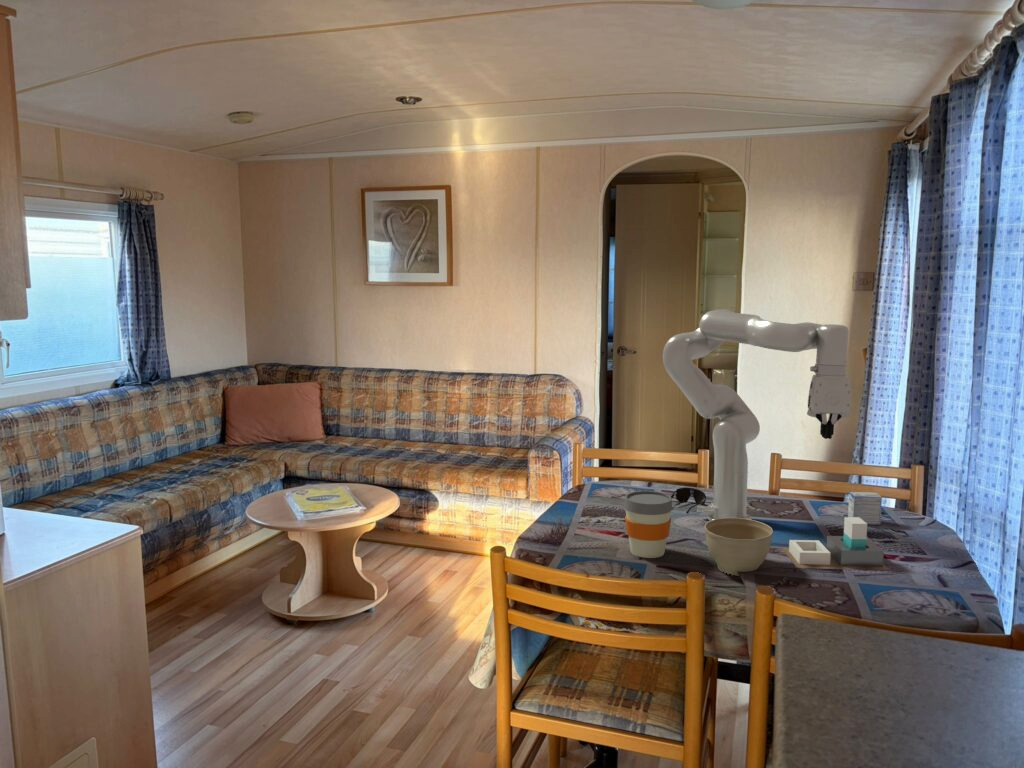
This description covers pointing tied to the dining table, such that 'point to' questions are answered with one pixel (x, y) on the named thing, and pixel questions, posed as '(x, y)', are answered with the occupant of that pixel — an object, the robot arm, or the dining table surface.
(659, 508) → the reusable coffee cup
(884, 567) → the panel board
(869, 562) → the port block
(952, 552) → the dining table surface
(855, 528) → the plug
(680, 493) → the sunglasses
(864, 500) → the medicine box
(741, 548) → the planter bowl
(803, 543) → the white rectangular frame
